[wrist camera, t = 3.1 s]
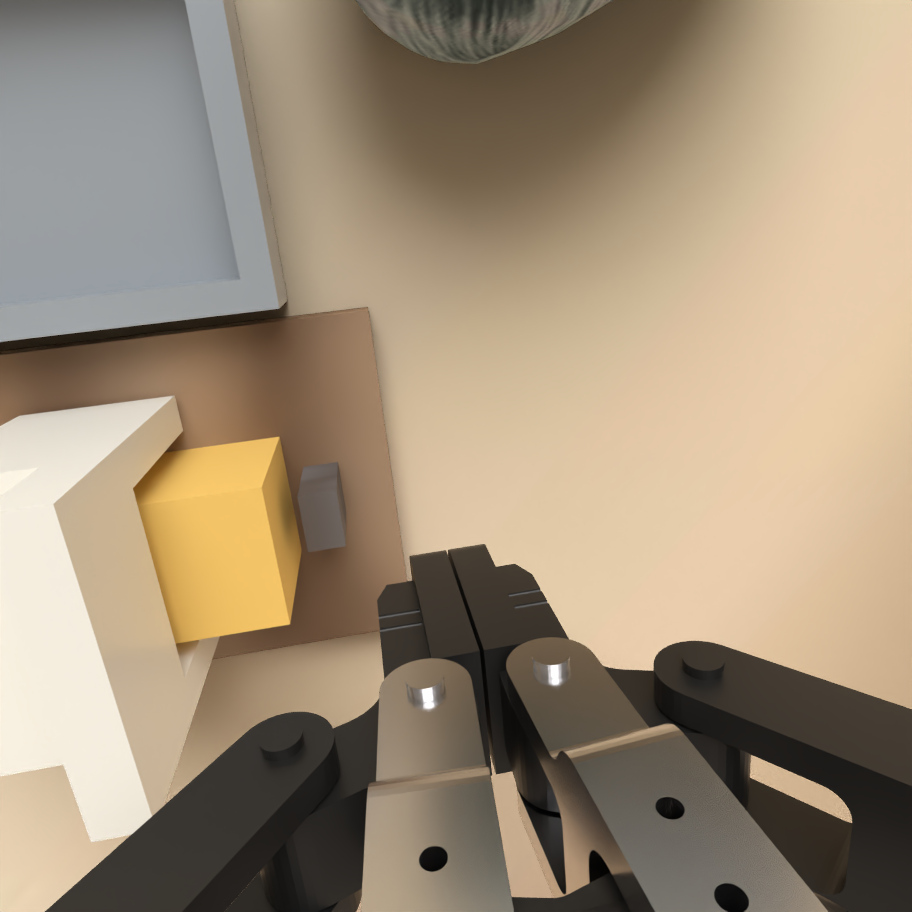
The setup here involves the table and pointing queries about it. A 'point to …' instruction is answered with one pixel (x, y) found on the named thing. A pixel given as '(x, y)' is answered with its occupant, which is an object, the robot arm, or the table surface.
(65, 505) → the white stepped block
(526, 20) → the streaked grey-blue ovoid
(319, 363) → the clamp board
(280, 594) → the yellow rectangular block
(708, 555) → the table surface
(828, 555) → the table surface
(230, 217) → the tray
